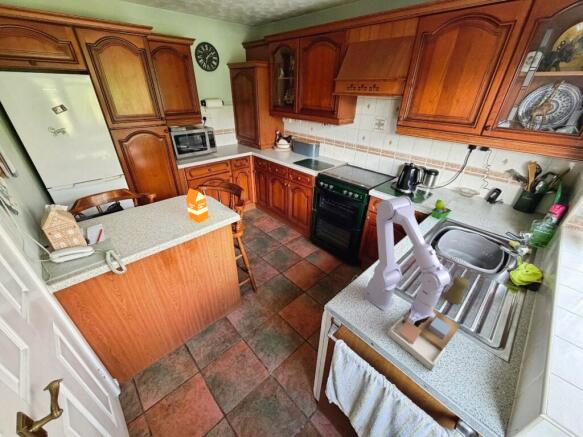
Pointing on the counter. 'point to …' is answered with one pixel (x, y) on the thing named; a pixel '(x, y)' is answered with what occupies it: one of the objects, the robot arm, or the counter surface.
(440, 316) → the oak board
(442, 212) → the fruit basket
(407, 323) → the terracotta tile
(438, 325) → the slate tile
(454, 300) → the olive lobed plate
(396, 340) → the tray
